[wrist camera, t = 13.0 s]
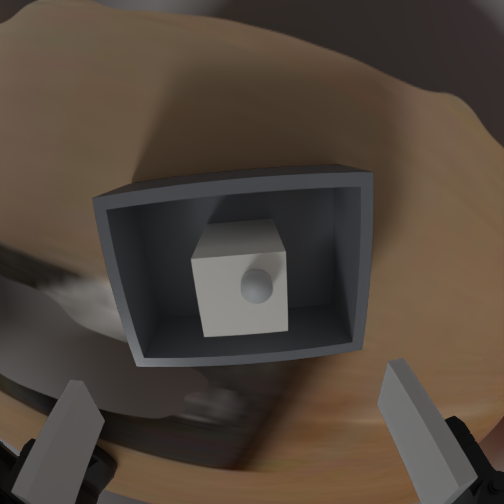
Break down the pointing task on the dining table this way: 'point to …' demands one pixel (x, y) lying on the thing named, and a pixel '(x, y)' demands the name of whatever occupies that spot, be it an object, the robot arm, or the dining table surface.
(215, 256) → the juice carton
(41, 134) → the dining table surface
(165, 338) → the bin
